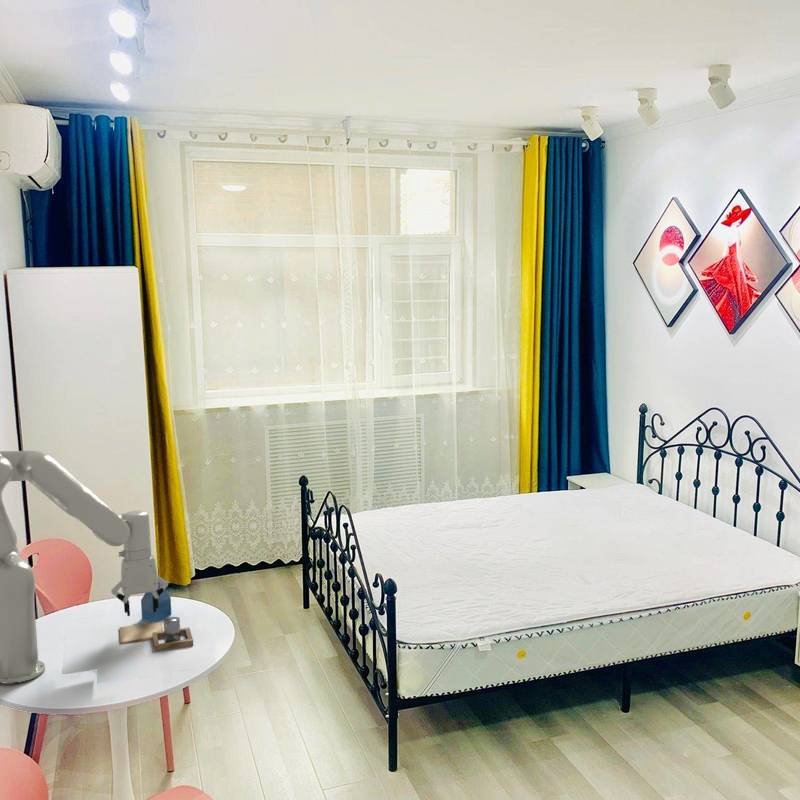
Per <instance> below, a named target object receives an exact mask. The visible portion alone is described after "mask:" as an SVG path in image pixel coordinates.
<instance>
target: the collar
mask: <svg viewBox="0 0 800 800" xmlns="http://www.w3.org/2000/svg"><path fill="white" fill-rule="evenodd" d="M152 635H153V639H152V641H153V649H154V652H158V651H164V650H171V649H178V648H185V647H191V646H194V639H193V635H192V633H191V629H190V627H182V628H181V627H180V636H183V635H185V637H186V639H182V640H180V641H174V642H167V643H165V642H162V643H160V642H159V638H158V636H164V630H163V631H161V632H154V633H152Z"/></svg>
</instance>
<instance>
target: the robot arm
mask: <svg viewBox="0 0 800 800" xmlns="http://www.w3.org/2000/svg"><path fill="white" fill-rule="evenodd" d="M23 481H24V482H25V481H27V482H29V483H30V484H31V485H33V486H34V488H36V489H38V490H39V491H40V492H41V493H42V494H43V495H44V496H45V497H47V498H48V499H49V500H50V501H52V502H53V503H54V505H56V506H57V507H58V508H60V509H61V510H62V511H63V512H65V513H66V514H67V515H69V516H71V517H72V518H74V519H76V520H78V521H79V522H80V523H82V524H83V525H84V526H86V527H87V528H88V529H89V530H91V532H92V533H93V535H94V536H95V538H97V539H98V540H100V541H101V542H104V543H105V544H106V545H108V546H110V547H120V546H123V549H122V551H119V552H118V557H122V561H121V566H120V567H121V568H120V581H118V583H117V584H115V586H113V588H112V589H111V590H110V591H111V594H112V595H113V596H115V597H116V598H117V599H118V600H120V601H121V602H122V603H123V608H124V613H125V614H126V616H127V617H130V616H131V612H130V611H131V610H130V600H129V598H130V597H131V596H133V595H134V596H135V595H139V594H145V593H148V592H151V593H152V594H153V597H152V598H153V610H154V612H156V608H158V598H159V596H160V595H161V594H162V593H163V591H164V590H165V591H166V588H167V587H168V585H169V582H168V581H167V580H166V579H164V578H163V577H160V576H159V574H158V569H157V563H156V558H155V556H154V555H153V554H152V543H151V542H152V541H151V529H150V528H151V525H150V515H149V513H148V512H147V511H145V510H131V511H127V512H123V513H116V512H114V511H113V510H112V509H111V508H110V507H109V506H108V505H106V503H104V502H103V501H102V500H101V499H100V498H98V497H97V496H96V494H94V493H93V492H92V491H91V490H90V489H89V488H88V487H86V486H85V485H84V484H83V483H82V482H81V481H79V480H78V479H77V477H75V476H74V475H73V474H72V473H70V472H69V471H68V470H67V469H66V468H65V467H64V466H62V465H61V464H60V463H59V462H58V461H57V460H56V459H55V458H53V457H52V456H50V455H48V454H47V453H44V452H42V451H39V450H8V451H7V450H0V682H8V683H7V684H13V683H12V682H18V683H22V681H23V682H26V680H27V681H30V680H32V679H35V678H37V677H38V676H40V675H42V674H43V673H44V672H45V670H46V665H45V663H44V662H43V661H40V660H39V652H38V651H39V650H38V638H37V619H36V610H35V608H36V607H35V592H36V591H35V589H36V576H35V572H34V570H33V568H32V566H31V565H30V563H28V562H27V561H26V560H25V559H23V558H22V557H21V554H20V552H19V550H18V546H17V544H18V537H17V533H16V530H15V529H14V527H13V525H12V523H11V521H10V518H9V516H8V514H7V510H6V508H5V505H4V502H3V493H4V489H5V488H6V486H7V485H8V484H9V482H23ZM158 582H159V583H161V587H160V588H159V589H158ZM120 589H121V592H119V590H120ZM157 589H158V590H157Z"/></svg>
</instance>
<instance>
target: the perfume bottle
mask: <svg viewBox="0 0 800 800" xmlns="http://www.w3.org/2000/svg"><path fill="white" fill-rule="evenodd" d="M161 586H162V584H161V583H159V582H158V589H159V588H160V587H161ZM158 589H157V590H158ZM143 594H144V595H142V598H141V600H140V603H141V607H140V608H141V619H142V620H144V621H148V622H151V623H153V622H160V621H162V620H164V619H166V618H169V617H171V615H172V599H171V596H170V595H169V593H168V592H167V591H166V589H165V590H164V591H163V593H162V594H161V595H160V596H159V598H158V608H156V612H154V610H153V598H152V597H153V594H152V593H151V592H148V593H143Z"/></svg>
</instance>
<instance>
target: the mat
mask: <svg viewBox="0 0 800 800" xmlns="http://www.w3.org/2000/svg"><path fill="white" fill-rule="evenodd" d="M161 631H164V626H163V623H162V620H160V621H158V622H148V623H147V622H146V623H140V624H133V625H132V624H131V625H127V626H125V625H124V626H119V639H120V645H125V644H129V643H135V642H136V643H137V642H143V641H149V640H153V635H152V633H154V632H161ZM163 638H164V639H165V637H164V636H158V639H163Z"/></svg>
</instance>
